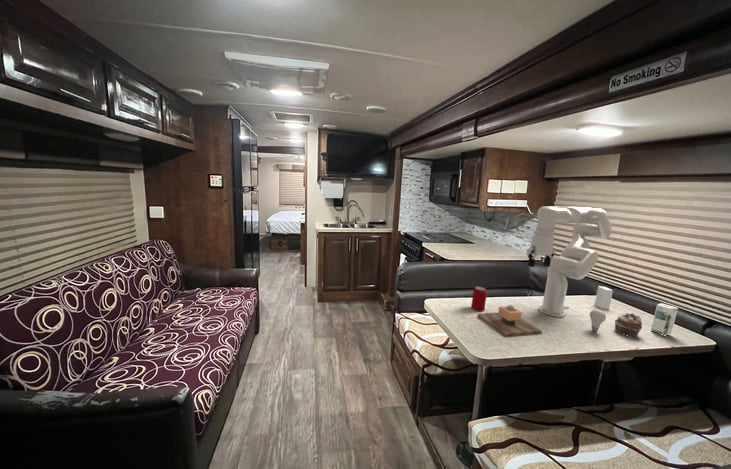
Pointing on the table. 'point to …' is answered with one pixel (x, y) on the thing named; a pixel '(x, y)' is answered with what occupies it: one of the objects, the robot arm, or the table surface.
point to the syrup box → (664, 319)
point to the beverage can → (479, 298)
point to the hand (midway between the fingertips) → (538, 266)
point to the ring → (510, 313)
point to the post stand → (509, 324)
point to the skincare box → (603, 297)
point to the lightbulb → (597, 318)
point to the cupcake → (628, 324)
